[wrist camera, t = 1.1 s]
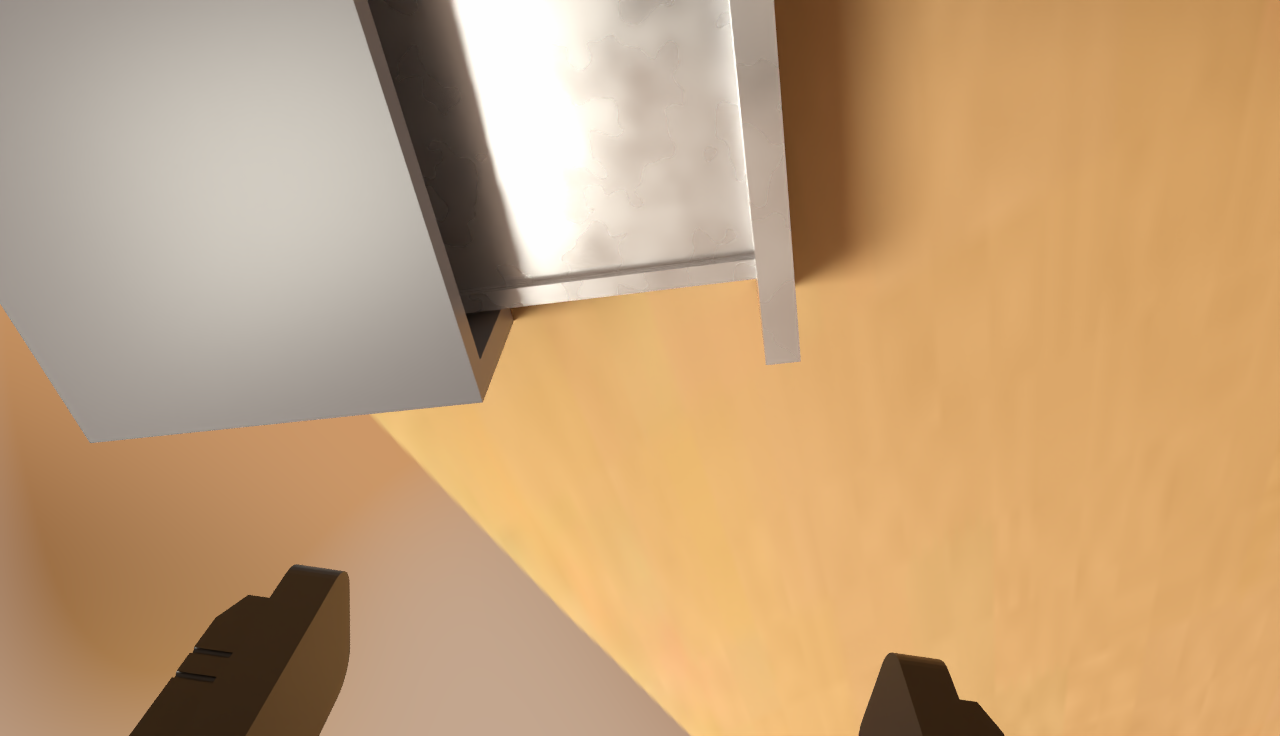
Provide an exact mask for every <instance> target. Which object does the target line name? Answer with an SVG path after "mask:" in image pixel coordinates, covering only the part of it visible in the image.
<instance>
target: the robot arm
mask: <svg viewBox="0 0 1280 736" xmlns="http://www.w3.org/2000/svg"><path fill="white" fill-rule="evenodd" d="M349 593H350V592H349V577H348V574H347V572H345V571H338V570H332V569H325V568H317V567H311V566H304V565H293V566H292V567H291V568H290V569H289V570H288V572H287V573H286V574H285V576H284V577H283V579H282V580H281V582H280V583H279V585H278V586H277V588H276V589H275V591H274V592H273V594H272V595H271V597H270V598H266V597H259V596H251V595H248V596H246V597H245V598H243V599H242V600H240V601H239V602H238V603H236V604H235V605H233V606H232V607H230V608H229V609H228V610H226V611H225V612H223V613H222V614H220V615H219V616H218V617H216V618H215V620H214V621H213V622H212V624H211V625H210V626H209V628H208V629H207V630H206V632H205V633H204V634H203V636H202V637H201V638H200V640H199V641H198V643H197V644H196V645H195V647H194V651H193V653H189V655H188V656H187V658H186V659H185V660H184V662H183V663H182V664H181V666H180V667H179V669H178V670H177V672H176V676H175V677H174V678H171V679H170V681H169V682H168V684H167V685H166V686H165V688H164V689H163V691H162V692H161V693H160V694H159V696H158V697H157V698H156V700H155V701H154V703H153V704H152V705H151V707H150V708H149V709H148V711H147V712H146V713H145V715H144V716H143V718H142V719H141V720H140V722H139V723H138V725H137V726H136V727H135V728H134V730H133V731H132V733H131V734H130V735H129V736H319V734H320V733H321V730H322V728H323V726H324V724H325V722H326V720H327V718H328V716H329V714H330V712H331V710H332V708H333V706H334V703H335V701H336V699H337V697H338V695H339V693H340V690H341V687H342V685H343V682H344V679H345V675H346V671H347V666H348V662H349V654H350V604H349V603H350V602H349V601H350V597H349V596H350V595H349ZM859 736H1004V733H1003V732H1002V731H1001V730H1000V729H999V728H998V726H997V725H996V724H995V723H994V722H993V720H992V719H991V718H990V717H989V716H988V715H987V713H986V712H985V711H984V710H983V709H982V707H981V706H980V705H979V704H978V703H977V702H973V701H966V700H959V697H958V694H957V692H956V689H955V687H954V684H953V681H952V679H951V676H950V674H949V671H948V669H947V666H946V665H945V663H944V662H943V661H942V660H939V659H932V658H925V657H918V656H912V655H905V654H898V653H889V654H888V655H887V656H886V657H885V659H884V661H883V664H882V667H881V669H880V672H879V675H878V678H877V681H876V683H875V686H874V689H873V692H872V695H871V697H870V700H869V703H868V706H867V709H866V712H865V714H864V717H863V720H862V723H861V726H860V731H859Z"/></svg>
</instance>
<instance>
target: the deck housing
mask: <svg viewBox="0 0 1280 736" xmlns="http://www.w3.org/2000/svg"><path fill="white" fill-rule="evenodd" d="M0 304H1V306H2V307H3V309H4V310H5V312H6V313H7V315H8V316H9V318H10V320H11V321H12V323H13V324H14V326H15V327H16V329H17V330H18V332H19V333H20V335H21V337H22V338H23V340H24V341H25V343H26V344H27V346H28V347H29V349H30V350H31V352H32V354H33V355H34V357H35V358H36V360H37V361H38V363H39V364H40V366H41V367H42V369H43V371H44V372H45V374H46V375H47V377H48V378H49V380H50V381H51V383H52V384H53V386H54V388H55V389H56V391H57V392H58V394H59V395H60V397H61V398H62V400H63V402H64V403H65V405H66V406H67V408H68V409H69V411H70V413H71V414H72V416H73V417H74V418H75V420H76V422H77V423H78V425H79V426H80V428H81V430H82V431H83V433H84V434H85V436H86V437H87V439H88V440H89V442H90V443H94V442H104V441H114V440H123V439H133V438H143V437H153V436H162V435H172V434H182V433H191V432H200V431H211V430H220V429H230V428H239V427H249V426H259V425H268V424H278V423H287V422H297V421H306V420H316V419H326V418H336V417H346V416H355V415H365V414H375V413H384V412H394V411H404V410H413V409H423V408H432V407H442V406H452V405H461V404H471V403H481V402H483V400H484V397H485V395H486V392H487V390H488V387H489V384H490V382H491V379H492V376H493V374H494V371H495V369H496V366H497V363H498V361H499V358H500V355H501V353H502V350H503V348H504V345H505V342H506V340H507V337H508V334H509V332H510V329H511V327H512V324H513V317H512V314H511V310H510V308H506V309H498V310H489V311H481V312H473V313H465V310H464V307H463V304H462V301H461V298H460V294H459V291H458V288H457V285H456V282H455V279H454V275H453V272H452V269H451V266H450V263H449V259H448V256H447V253H446V250H445V247H444V243H443V240H442V237H441V234H440V231H439V228H438V224H437V221H436V218H435V215H434V212H433V208H432V205H431V202H430V199H429V196H428V192H427V189H426V186H425V183H424V180H423V177H422V173H421V170H420V167H419V164H418V161H417V157H416V154H415V151H414V148H413V145H412V141H411V138H410V135H409V132H408V129H407V126H406V122H405V119H404V116H403V113H402V110H401V106H400V103H399V100H398V97H397V94H396V90H395V87H394V84H393V81H392V78H391V75H390V71H389V68H388V65H387V62H386V59H385V55H384V52H383V49H382V46H381V43H380V39H379V36H378V33H377V30H376V27H375V24H374V20H373V17H372V14H371V11H370V8H369V4H368V1H367V0H0Z"/></svg>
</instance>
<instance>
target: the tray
mask: <svg viewBox="0 0 1280 736" xmlns="http://www.w3.org/2000/svg"><path fill="white" fill-rule="evenodd" d="M367 1H368V4H369V8H370V11H371V14H372V17H373V20H374V24H375V27H376V30H377V33H378V36H379V39H380V43H381V46H382V49H383V52H384V55H385V59H386V62H387V65H388V68H389V71H390V75H391V78H392V81H393V84H394V87H395V90H396V94H397V97H398V100H399V103H400V106H401V110H402V113H403V116H404V119H405V122H406V126H407V129H408V132H409V135H410V138H411V141H412V145H413V148H414V151H415V154H416V157H417V161H418V164H419V167H420V170H421V173H422V177H423V180H424V183H425V186H426V189H427V192H428V196H429V199H430V202H431V205H432V208H433V212H434V215H435V218H436V221H437V224H438V228H439V231H440V234H441V237H442V240H443V243H444V247H445V250H446V253H447V256H448V259H449V263H450V266H451V269H452V272H453V275H454V279H455V282H456V285H457V288H458V291H459V294H460V298H461V301H462V304H463V307H464V310H465V313H473V312H481V311H489V310H498V309H506V308H515V307H523V306H531V305H540V304H548V303H556V302H565V301H573V300H582V299H590V298H598V297H607V296H615V295H623V294H632V293H640V292H649V291H657V290H665V289H674V288H682V287H690V286H699V285H707V284H716V283H724V282H732V281H741V280H749V279H756V284H757V294H758V303H759V311H760V319H761V327H762V335H763V344H764V352H765V360H766V365H772V364H781V363H791V362H800V361H801V360H800V346H799V333H798V319H797V306H796V293H795V279H794V266H793V252H792V239H791V225H790V212H789V198H788V185H787V171H786V158H785V144H784V131H783V117H782V104H781V90H780V77H779V63H778V50H777V36H776V23H775V9H774V0H367Z"/></svg>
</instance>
